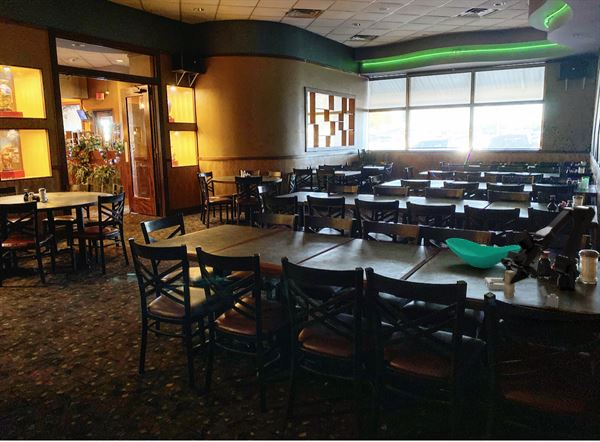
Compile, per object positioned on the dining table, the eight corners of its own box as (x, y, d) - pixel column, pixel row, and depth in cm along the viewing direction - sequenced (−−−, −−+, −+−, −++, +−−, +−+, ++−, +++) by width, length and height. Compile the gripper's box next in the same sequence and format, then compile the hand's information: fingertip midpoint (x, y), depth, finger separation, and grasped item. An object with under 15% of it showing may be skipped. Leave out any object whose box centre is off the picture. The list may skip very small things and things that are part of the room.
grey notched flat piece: (558, 306, 194) (559, 288, 193) (557, 308, 193) (558, 289, 191) (539, 303, 199) (540, 285, 197) (538, 304, 198) (539, 286, 196)
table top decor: (436, 266, 260) (436, 243, 258) (456, 256, 281) (457, 235, 278) (511, 278, 234) (512, 253, 232) (526, 266, 255) (528, 242, 253)
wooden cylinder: (509, 294, 211) (510, 270, 209) (514, 296, 208) (515, 271, 206) (503, 295, 210) (504, 270, 208) (508, 297, 207) (509, 272, 205)
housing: (508, 283, 227) (508, 276, 227) (514, 290, 217) (514, 283, 216) (484, 282, 229) (485, 275, 229) (489, 289, 219) (489, 282, 218)
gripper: (504, 240, 215) (482, 266, 214) (534, 249, 197) (511, 277, 196) (517, 255, 218) (496, 280, 217) (548, 265, 201) (526, 292, 199)
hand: (507, 282), depth 207 cm, fingers open, 4 cm apart
